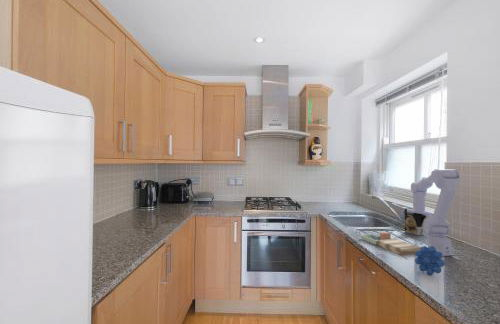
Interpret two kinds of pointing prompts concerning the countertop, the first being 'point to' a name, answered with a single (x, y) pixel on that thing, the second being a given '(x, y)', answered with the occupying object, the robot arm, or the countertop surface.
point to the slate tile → (375, 236)
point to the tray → (369, 239)
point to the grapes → (429, 260)
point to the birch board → (398, 246)
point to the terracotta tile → (384, 235)
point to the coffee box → (412, 224)
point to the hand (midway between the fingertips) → (419, 226)
